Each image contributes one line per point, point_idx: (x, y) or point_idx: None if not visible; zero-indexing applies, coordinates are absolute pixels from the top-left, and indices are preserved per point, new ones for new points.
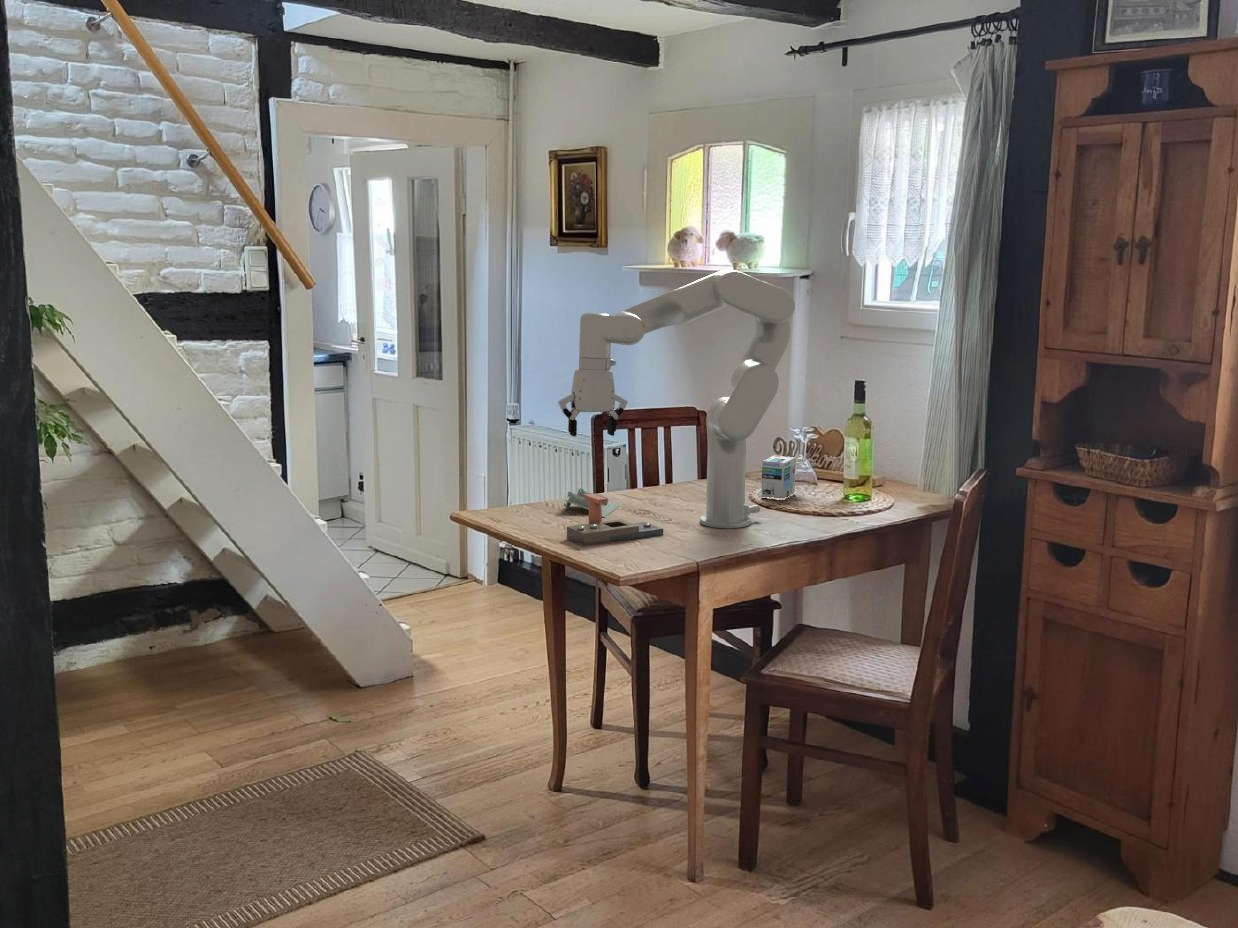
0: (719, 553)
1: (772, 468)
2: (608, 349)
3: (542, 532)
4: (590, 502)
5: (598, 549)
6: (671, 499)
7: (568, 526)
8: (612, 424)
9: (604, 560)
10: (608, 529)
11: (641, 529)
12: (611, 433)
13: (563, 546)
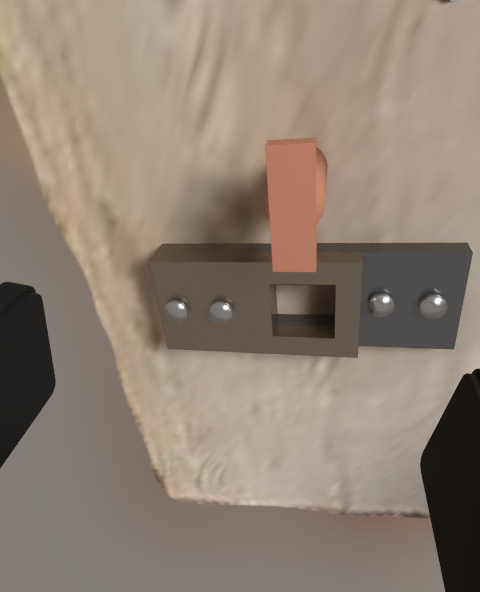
0: None
1: None
2: None
3: (114, 131)
4: (266, 211)
5: (202, 363)
6: None
7: (154, 263)
8: (454, 583)
9: (179, 427)
10: (251, 346)
11: (384, 326)
12: (422, 478)
13: (130, 303)
